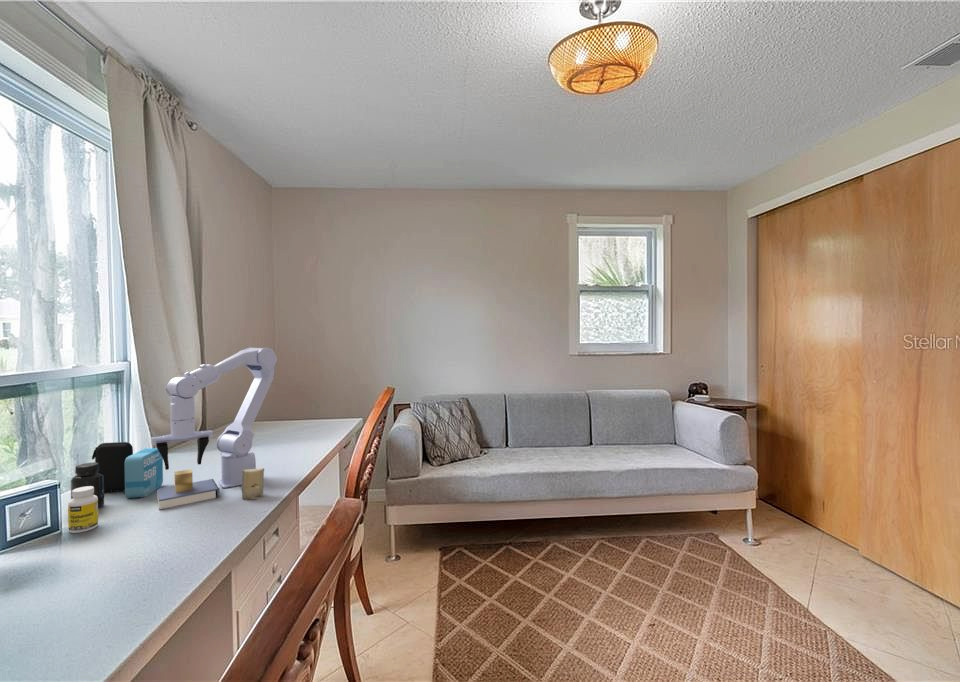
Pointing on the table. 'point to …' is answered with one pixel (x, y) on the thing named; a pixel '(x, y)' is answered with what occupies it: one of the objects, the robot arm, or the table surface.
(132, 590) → the table surface
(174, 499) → the slate blue book
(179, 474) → the mustard block
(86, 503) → the supplement bottle
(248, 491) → the tan upright rounded block
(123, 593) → the table surface
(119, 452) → the carrying case or bag
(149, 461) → the data package
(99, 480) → the supplement bottle
